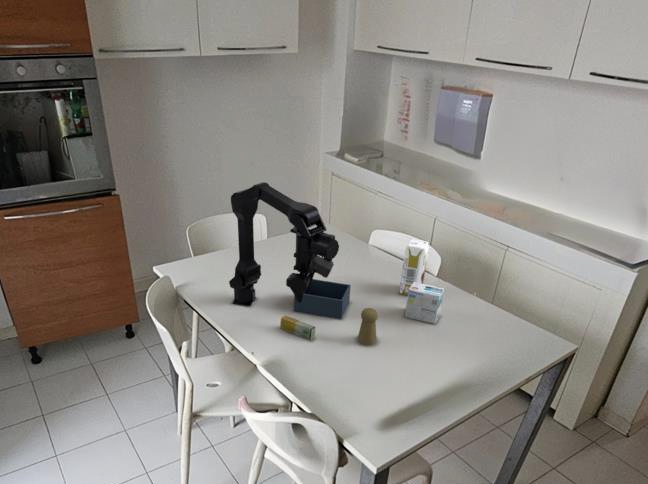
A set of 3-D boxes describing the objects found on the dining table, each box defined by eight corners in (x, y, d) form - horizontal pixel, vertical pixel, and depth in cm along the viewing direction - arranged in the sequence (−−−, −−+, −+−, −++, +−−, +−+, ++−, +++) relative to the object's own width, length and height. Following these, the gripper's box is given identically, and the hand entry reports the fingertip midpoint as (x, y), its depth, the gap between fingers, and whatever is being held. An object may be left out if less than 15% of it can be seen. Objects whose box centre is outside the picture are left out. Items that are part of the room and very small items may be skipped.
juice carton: (397, 294, 192) (404, 246, 182) (403, 284, 199) (409, 237, 188) (418, 298, 190) (426, 249, 179) (422, 288, 196) (430, 240, 186)
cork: (364, 347, 162) (367, 317, 156) (353, 338, 166) (356, 308, 160) (380, 343, 164) (383, 312, 158) (369, 333, 169) (372, 303, 163)
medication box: (315, 337, 166) (316, 326, 164) (310, 340, 164) (311, 329, 162) (284, 325, 171) (285, 314, 170) (279, 328, 169) (280, 317, 167)
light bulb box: (439, 315, 180) (445, 287, 174) (435, 324, 175) (440, 296, 169) (409, 308, 183) (413, 280, 178) (404, 317, 178) (408, 289, 172)
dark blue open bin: (293, 311, 180) (294, 292, 176) (304, 295, 190) (304, 277, 186) (341, 319, 176) (342, 301, 172) (349, 302, 186) (350, 284, 182)
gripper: (323, 265, 146) (321, 314, 154) (338, 241, 161) (336, 286, 169) (285, 260, 148) (285, 308, 157) (304, 236, 163) (302, 281, 172)
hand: (304, 295), depth 164 cm, fingers open, 9 cm apart
